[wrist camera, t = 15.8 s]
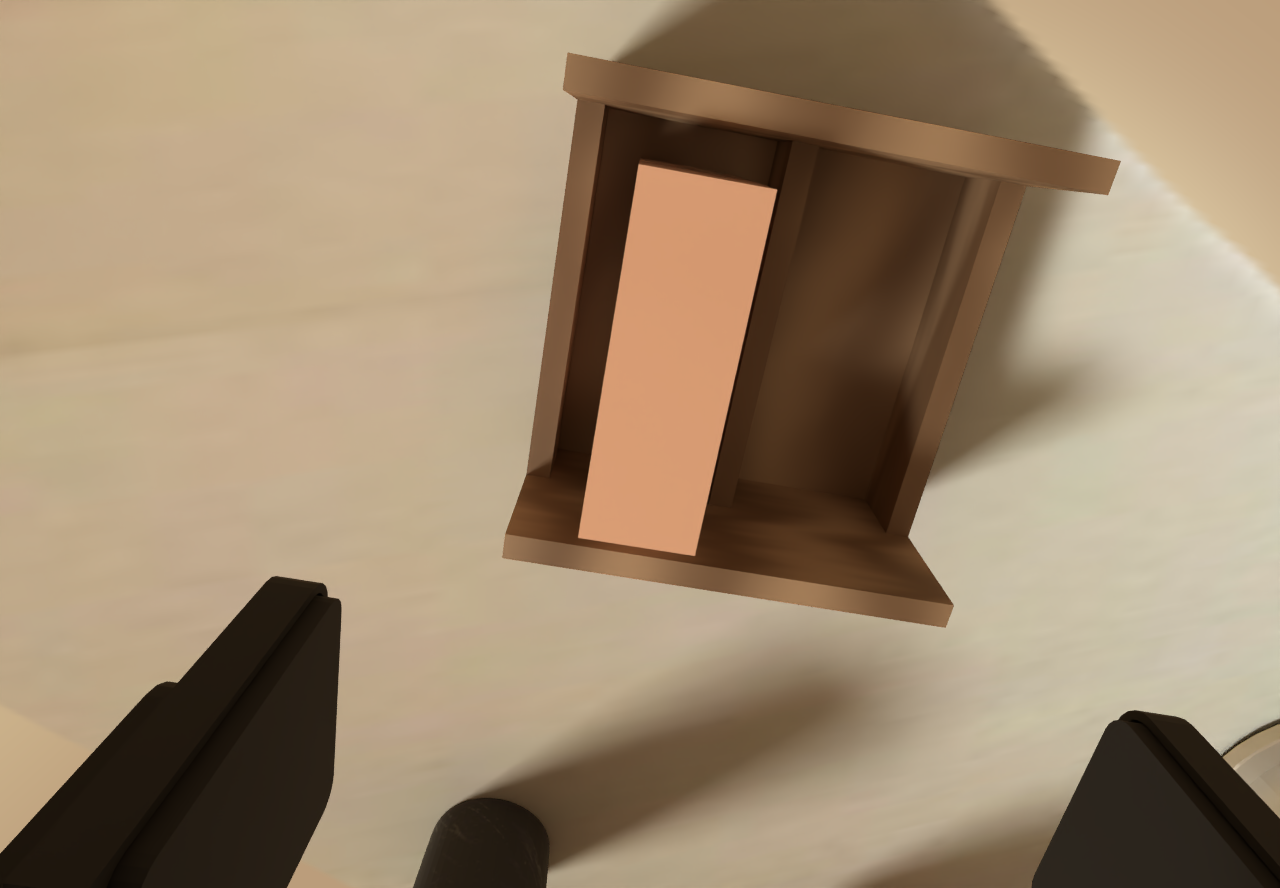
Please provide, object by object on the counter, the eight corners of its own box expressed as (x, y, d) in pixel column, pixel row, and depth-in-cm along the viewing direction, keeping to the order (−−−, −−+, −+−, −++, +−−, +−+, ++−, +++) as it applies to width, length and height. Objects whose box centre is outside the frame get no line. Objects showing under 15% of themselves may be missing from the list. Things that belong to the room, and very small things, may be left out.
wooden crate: (986, 156, 33) (1120, 161, 24) (873, 512, 39) (945, 627, 30) (589, 79, 32) (567, 52, 23) (536, 456, 38) (502, 557, 29)
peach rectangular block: (735, 174, 32) (777, 189, 22) (680, 440, 37) (694, 556, 26) (640, 157, 32) (638, 164, 22) (596, 426, 36) (577, 537, 26)
